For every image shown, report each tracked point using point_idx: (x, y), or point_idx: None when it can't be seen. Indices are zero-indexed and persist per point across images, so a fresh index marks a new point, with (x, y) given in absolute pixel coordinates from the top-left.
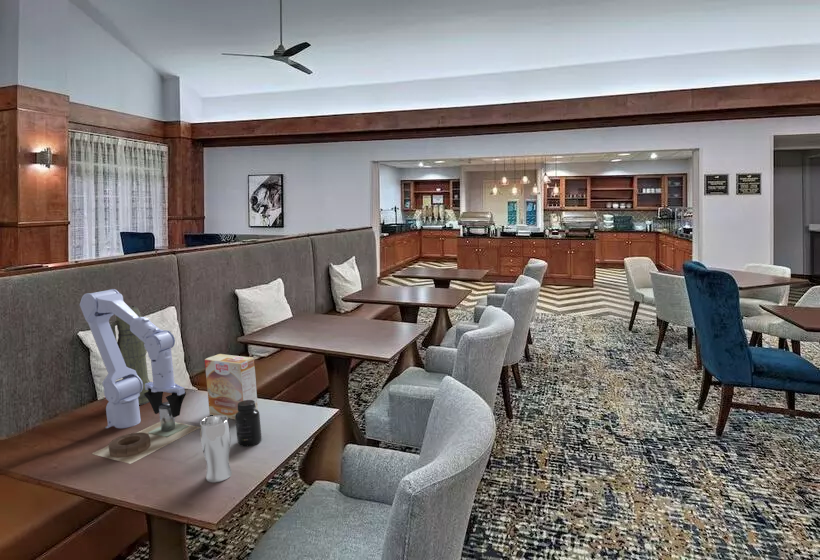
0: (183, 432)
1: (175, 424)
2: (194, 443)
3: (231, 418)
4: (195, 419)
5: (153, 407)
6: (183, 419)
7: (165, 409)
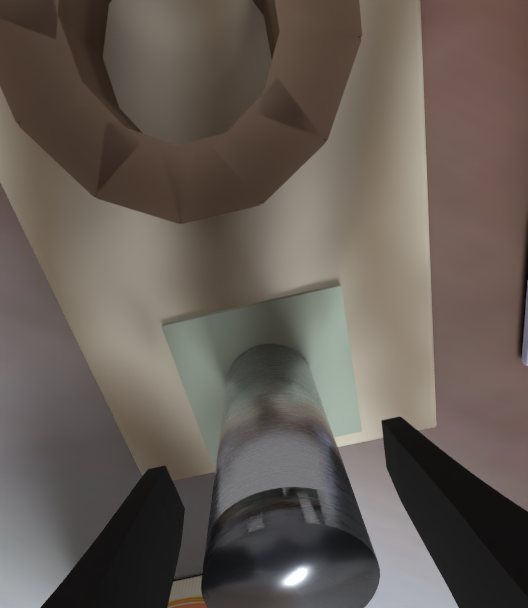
0: (153, 408)
1: None
2: (4, 382)
3: None
4: None
5: (431, 467)
6: (366, 480)
7: (219, 513)
